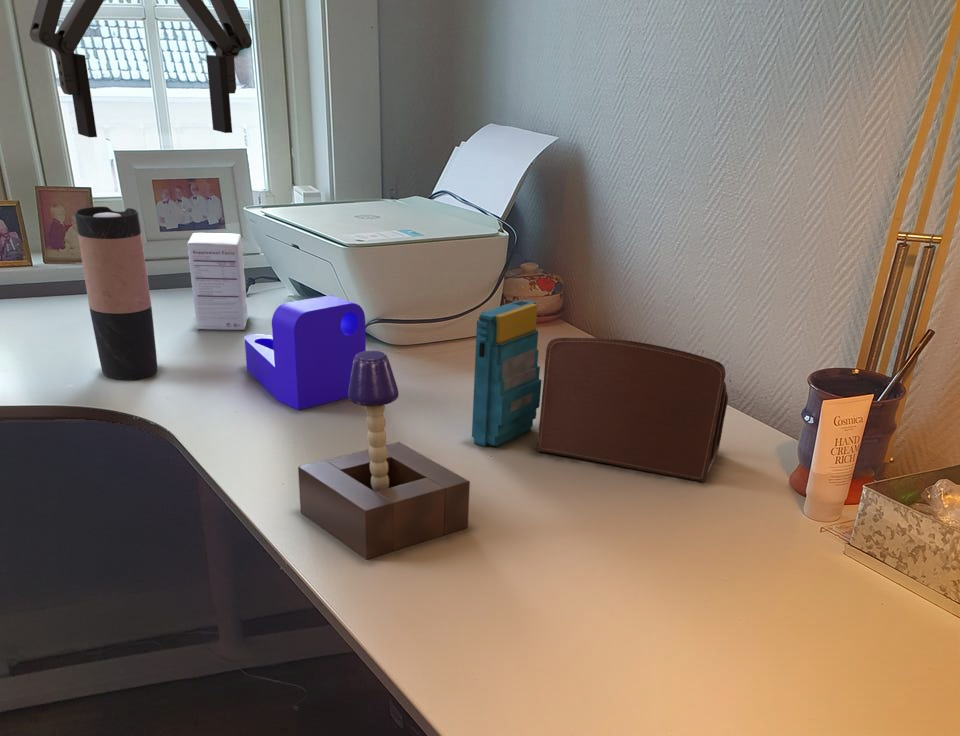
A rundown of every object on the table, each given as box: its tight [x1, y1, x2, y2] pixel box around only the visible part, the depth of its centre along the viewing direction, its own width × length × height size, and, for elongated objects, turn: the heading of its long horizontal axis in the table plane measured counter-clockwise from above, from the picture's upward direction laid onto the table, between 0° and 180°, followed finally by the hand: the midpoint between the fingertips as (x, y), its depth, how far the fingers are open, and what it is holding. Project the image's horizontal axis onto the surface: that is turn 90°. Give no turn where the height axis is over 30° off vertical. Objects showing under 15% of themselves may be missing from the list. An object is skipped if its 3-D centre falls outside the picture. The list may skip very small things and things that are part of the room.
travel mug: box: [74, 206, 159, 381], centre depth 127 cm, size 8×8×20 cm
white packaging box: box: [186, 232, 249, 331], centre depth 150 cm, size 7×7×13 cm
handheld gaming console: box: [471, 299, 542, 448], centre depth 115 cm, size 10×4×15 cm, turn 145°
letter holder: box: [536, 337, 729, 483], centre depth 112 cm, size 10×20×14 cm, turn 70°
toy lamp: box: [348, 350, 399, 492], centre depth 94 cm, size 5×5×17 cm
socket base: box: [297, 441, 471, 560], centre depth 97 cm, size 12×12×5 cm
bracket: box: [243, 295, 367, 411], centre depth 128 cm, size 18×11×12 cm, turn 45°
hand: (157, 133), depth 95 cm, fingers open, 13 cm apart
